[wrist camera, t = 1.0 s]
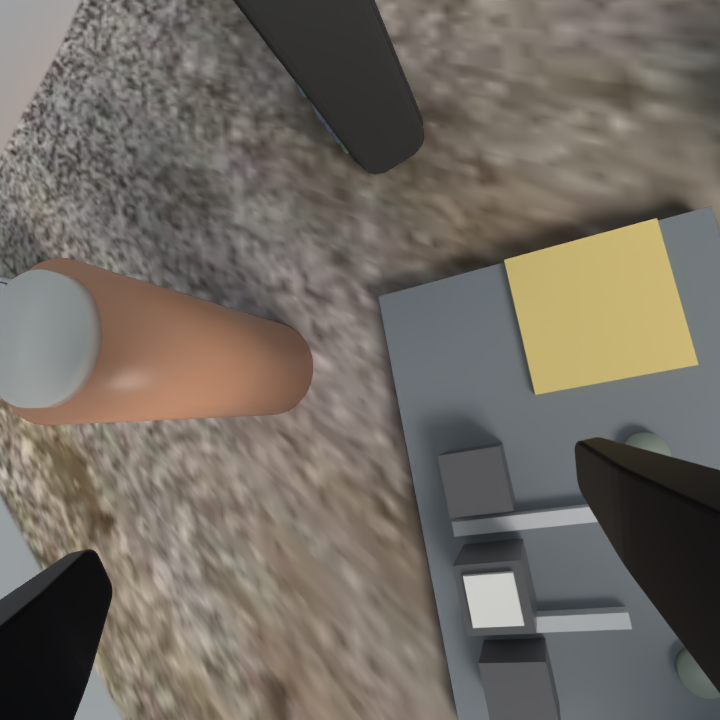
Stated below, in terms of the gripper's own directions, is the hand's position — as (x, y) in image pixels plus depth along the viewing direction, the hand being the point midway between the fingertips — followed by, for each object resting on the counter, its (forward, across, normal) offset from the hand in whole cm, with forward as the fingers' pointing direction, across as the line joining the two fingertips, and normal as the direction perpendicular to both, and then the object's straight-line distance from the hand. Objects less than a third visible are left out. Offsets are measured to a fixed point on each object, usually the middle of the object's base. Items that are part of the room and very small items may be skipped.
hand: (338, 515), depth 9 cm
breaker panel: (+10, -9, +8) cm, 16 cm away
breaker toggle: (+9, -5, +10) cm, 15 cm away
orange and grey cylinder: (+18, +4, +2) cm, 19 cm away
